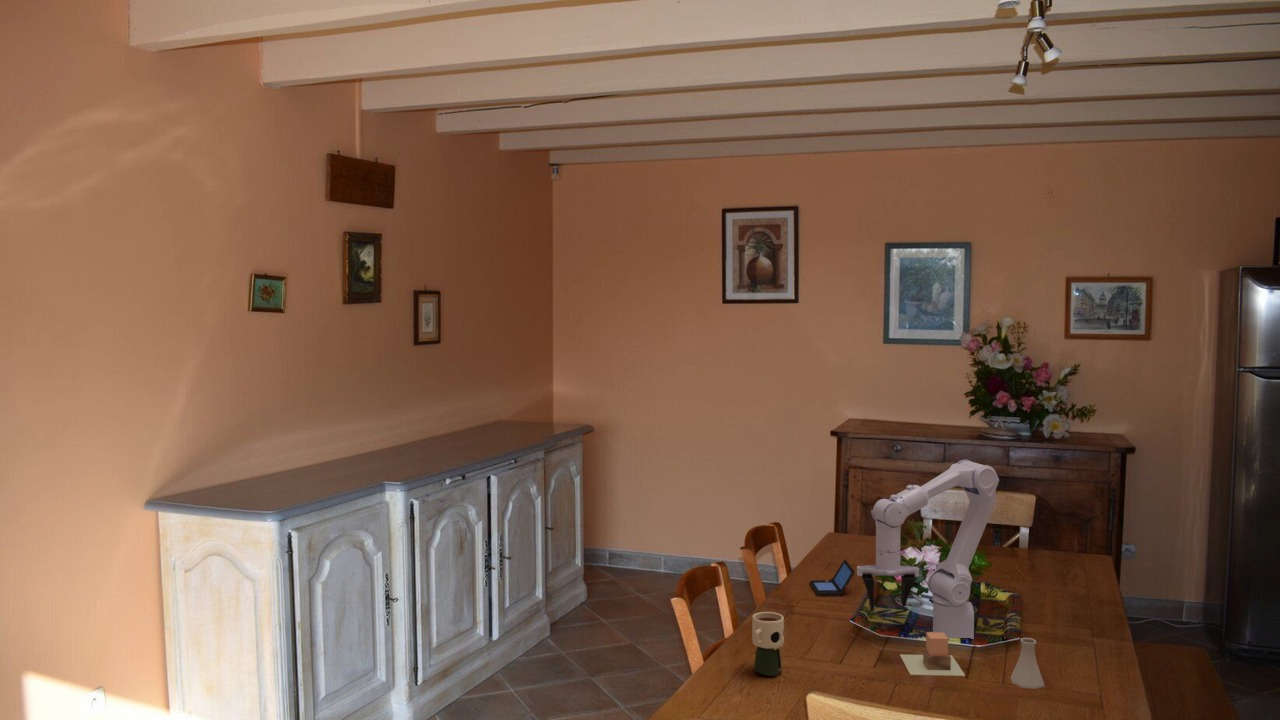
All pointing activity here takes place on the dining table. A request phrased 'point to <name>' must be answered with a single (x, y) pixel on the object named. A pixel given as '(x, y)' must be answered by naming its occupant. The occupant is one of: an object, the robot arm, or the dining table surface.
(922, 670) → the plate
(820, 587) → the handheld game console
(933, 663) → the walnut base brick
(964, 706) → the dining table surface
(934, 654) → the terracotta cube
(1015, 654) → the dining table surface
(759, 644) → the character mug
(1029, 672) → the flask
